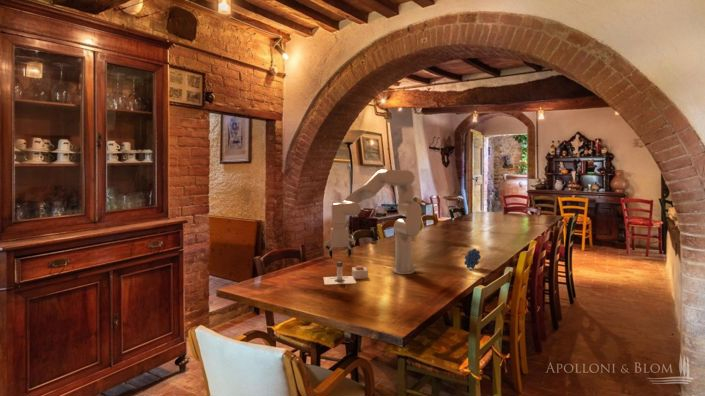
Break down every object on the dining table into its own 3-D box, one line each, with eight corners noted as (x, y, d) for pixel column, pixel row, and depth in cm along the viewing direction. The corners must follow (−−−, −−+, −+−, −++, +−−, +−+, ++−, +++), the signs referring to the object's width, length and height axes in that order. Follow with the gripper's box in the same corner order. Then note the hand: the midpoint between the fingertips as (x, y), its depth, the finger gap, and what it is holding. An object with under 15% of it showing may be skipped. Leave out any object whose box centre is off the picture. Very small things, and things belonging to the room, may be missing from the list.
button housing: (365, 274, 238) (365, 266, 238) (367, 278, 230) (367, 270, 230) (351, 275, 238) (351, 267, 237) (353, 278, 230) (353, 271, 229)
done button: (362, 270, 236) (362, 265, 235) (363, 272, 232) (363, 267, 232) (356, 270, 235) (356, 265, 235) (356, 272, 232) (356, 267, 232)
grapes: (475, 265, 257) (475, 246, 256) (482, 268, 251) (483, 248, 250) (460, 267, 253) (460, 248, 252) (467, 270, 246) (467, 250, 245)
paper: (353, 276, 235) (353, 275, 235) (356, 283, 221) (356, 282, 221) (323, 277, 233) (323, 276, 233) (324, 284, 219) (324, 284, 219)
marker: (342, 279, 227) (342, 261, 227) (343, 281, 224) (342, 263, 223) (336, 279, 227) (336, 261, 226) (337, 281, 224) (336, 263, 223)
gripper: (354, 223, 228) (355, 254, 230) (322, 225, 226) (324, 256, 228) (355, 226, 220) (356, 257, 222) (323, 227, 219) (324, 259, 220)
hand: (340, 256), depth 225 cm, fingers open, 9 cm apart
